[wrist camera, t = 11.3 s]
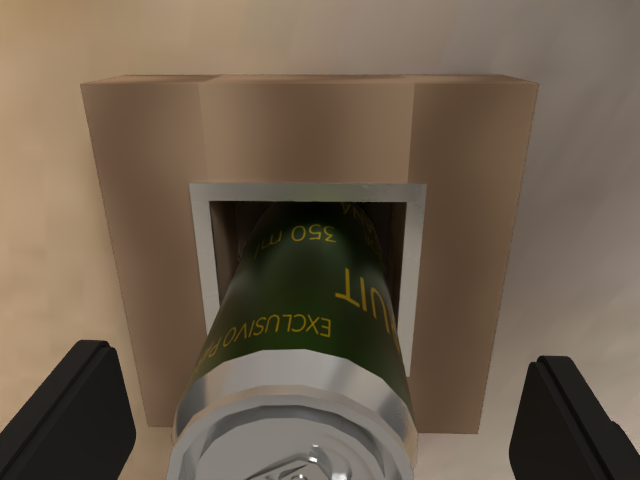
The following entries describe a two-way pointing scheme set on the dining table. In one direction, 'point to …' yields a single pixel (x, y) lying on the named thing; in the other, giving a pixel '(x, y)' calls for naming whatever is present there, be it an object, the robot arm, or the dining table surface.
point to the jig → (315, 166)
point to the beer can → (300, 360)
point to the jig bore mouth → (326, 193)
